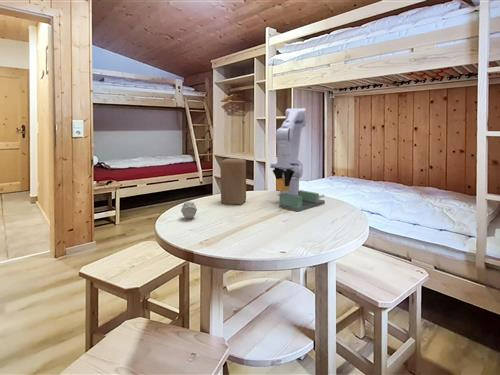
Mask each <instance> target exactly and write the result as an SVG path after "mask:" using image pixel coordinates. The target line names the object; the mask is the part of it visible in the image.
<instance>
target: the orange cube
mask: <svg viewBox="0 0 500 375" xmlns="http://www.w3.org/2000/svg"><path fill="white" fill-rule="evenodd" d="M286 190H290V184H289V186H285V178H284V177H282V178H280V179H276V178H275V191H279V192H280V191H286Z"/></svg>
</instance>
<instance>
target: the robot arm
mask: <svg viewBox="0 0 500 375" xmlns="http://www.w3.org/2000/svg"><path fill="white" fill-rule="evenodd" d="M307 110H308V109H306V107H304V108H302V107H299V108H288V107H287V109H285V120H284V121H282V124H281V126H280V127H279V128H277V129H276V131H275V140H276V146H277V158H276V160H277V162H276V163H270V165H269V167H270V169H272V172H273V174H274V178H275V180H276V179H280V178H285V186H289V184H290V190H286V191H279V193H278V196H280V194H282V193H287V194H292V195H297V196H298V191H299V190H300V179H302V177H303V173H304V170H303V168H304V167H303V166H304V165H303V162H302V161H300V160H299V153H300V143H301V136H302V135H301V134H302V130H303V128H305V127H306V125H307V119H308V111H307Z"/></svg>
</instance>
